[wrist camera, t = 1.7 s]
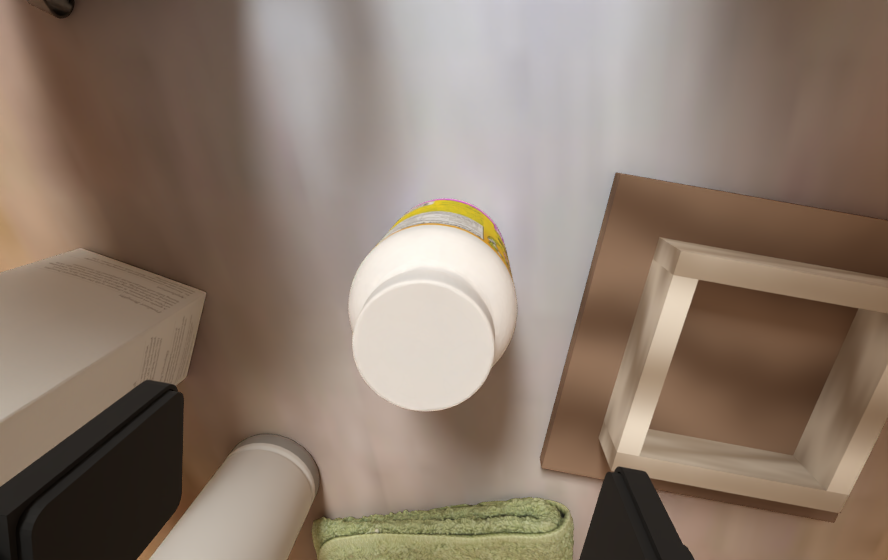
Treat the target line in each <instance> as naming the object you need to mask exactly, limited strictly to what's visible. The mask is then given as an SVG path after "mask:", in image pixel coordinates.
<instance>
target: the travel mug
mask: <svg viewBox="0 0 888 560" xmlns="http://www.w3.org/2000/svg"><path fill="white" fill-rule="evenodd" d="M318 488H319V473H318V468H317V466H316V464H315V462H314V460H313V458H312V457H311V456H310V454H309V453H308V452H307V451H306V450H305V449H304V448H303V447H302V446H300V445H299V444H298V443H296V442H294V441H292V440H290V439H288V438H286V437H282V436H279V435H272V434H262V435H256V436H252V437H249V438H247V439H245V440H243V441H241V442H240V443H239V444H238V445H236V447H235V448H234V449H233V450H232V452H231V453H230V454H229V456H228V457H227V458H226V459H225V461H224V462H223V464H222V465H221V466H220V467H219V469H218V470H217V471H216V473H215V474H214V475H213V476H212V478H211V479H210V480H209V482H208V483H207V484H206V486H205V487H204V488H203V490H202V491H201V492H200V493H199V495H198V496H197V497H196V499H195V500H194V501H193V503H192V504H191V505H190V507H189V508H188V509H187V510H186V512H185V513H184V514H183V516H182V517H181V518H180V520H179V521H178V522H177V524H176V525H175V526H174V527H173V529H172V530H171V531H170V533H169V534H168V535H167V537H166V538H165V539H164V541H163V542H162V543H161V544H160V546H159V547H158V548H157V550H156V551H155V552H154V554H153V555H152V556H151V557H150V559H149V560H287V559H288V557H289V554H290V552H291V550H292V548H293V545H294V543H295V541H296V539H297V536H298V534H299V532H300V530H301V528H302V525H303V523H304V521H305V519H306V516H307V514H308V512H309V509H310V507H311V505H312V503H313V501H314V498H315V496H316V494H317V491H318Z"/></svg>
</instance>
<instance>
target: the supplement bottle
mask: <svg viewBox="0 0 888 560" xmlns="http://www.w3.org/2000/svg"><path fill="white" fill-rule="evenodd" d="M348 311H349V320H350V325H351V329H352V332H353V337H352V349H353V355H354V360H355V363H356V366H357V368H358V371H359V373H360V374H361V376H362V378H363V379H364V381H365V382H366V383H367V385H368V386H369V387H370V388H371V389H372V390H373V391H374V392H375V393H376V394H377V395H379V396H380V397H382V398H383V399H384V400H386V401H388V402H390V403H392V404H393V405H396V406H398V407H401V408H404V409H408V410H413V411H424V412H428V411H439V410H444V409H447V408H451V407H453V406H456V405H458V404H460V403H462V402H464V401H465V400H467V399H468V398H470V397H471V396H472V395H473V394H475V393H476V392H477V391H478V390H479V388H480V387H481V386H482V385H483V383H484V382H485V380H486V379H487V377H488V375H489V373H490V371H491V368H492V367H493V366H494V365H495V364H496V362H497V361H498V360H499V359H500V358H501V356H502V355H503V354H504V352H505V350H506V349H507V347H508V345H509V343H510V341H511V339H512V336H513V333H514V330H515V325H516V319H517V299H516V292H515V287H514V283H513V279H512V274H511V270H510V265H509V260H508V256H507V251H506V247H505V244H504V241H503V238H502V235H501V233H500V231H499V229H498V227H497V226H496V224H495V223H494V222H493V220H492V219H491V218H490V217H489V216H488V215H487V214H486V213H485V212H484V211H482V210H481V209H479V208H478V207H476V206H474V205H473V204H470V203H468V202H465V201H462V200H458V199H450V198H440V199H433V200H429V201H426V202H423V203H421V204H419V205H417V206H415V207H413V208H412V209H410V210H409V211H408V212H407V213H405V214H404V215H403V216H402V217H401V218H400V219H399V220H398V221H397V222H396V224H395V225H394V226H393V227H392V228H391V229H390V231H389V232H388V233H387V234H386V235H385V236H384V237H383V239H382V240H381V241H380V242H379V243H378V244H377V245H376V246H375V247H374V248H373V249H372V251H371V252H370V253H369V254H368V255H367V257H366V258H365V259H364V260H363V262H362V263H361V265H360V267H359V268H358V270H357V272H356V274H355V277H354V279H353V282H352V285H351V289H350V294H349V304H348Z"/></svg>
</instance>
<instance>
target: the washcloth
mask: <svg viewBox="0 0 888 560" xmlns="http://www.w3.org/2000/svg"><path fill="white" fill-rule="evenodd" d="M573 530H574V527H573V519H572V517H571V514H570V511H569V509H568V508H567V507H566V506H564V505H562V504H561V503H558V502H555V501H551V500H544V499H542V498H532V497H527V498H522V499H520V498H515V499H510V500H508V501H491V502H482V503H479V504H477V505H467V504H462V505H456V506H446V507H443V508H434V509H431V510H429V511H421V510H419V511H417V510H415V511H411V512H409V513H408V511H407V510H404V511H403V513H401V512H400V511H399V512H397V514H394V513H392V512H390V514H389V515H385V516H383V515H377V514H375V515H370V516H369V517H366V516H363V518H359V519H355V518H353V517H350V516H349V517H348V518H343V519H341V518H336V519H334V520H331V519H330V518H329V519H327V518H325V517H322V518H320V519H318V520H315V521H314V522H313V526H312V531H311V532H312V538H313V543H314V548H315V550H316V555H317V560H572V559H573V558H572V555H573V549H572V548H573V544H574V540H573Z"/></svg>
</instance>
